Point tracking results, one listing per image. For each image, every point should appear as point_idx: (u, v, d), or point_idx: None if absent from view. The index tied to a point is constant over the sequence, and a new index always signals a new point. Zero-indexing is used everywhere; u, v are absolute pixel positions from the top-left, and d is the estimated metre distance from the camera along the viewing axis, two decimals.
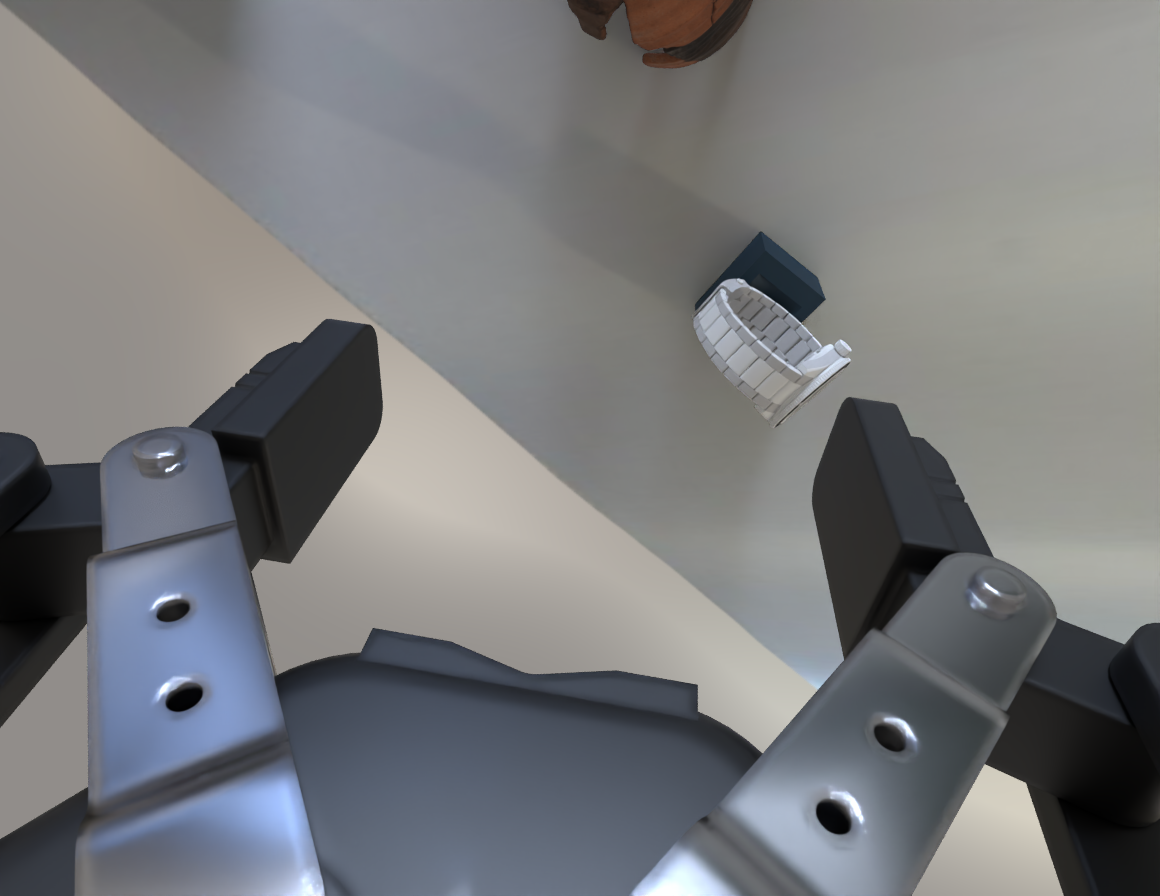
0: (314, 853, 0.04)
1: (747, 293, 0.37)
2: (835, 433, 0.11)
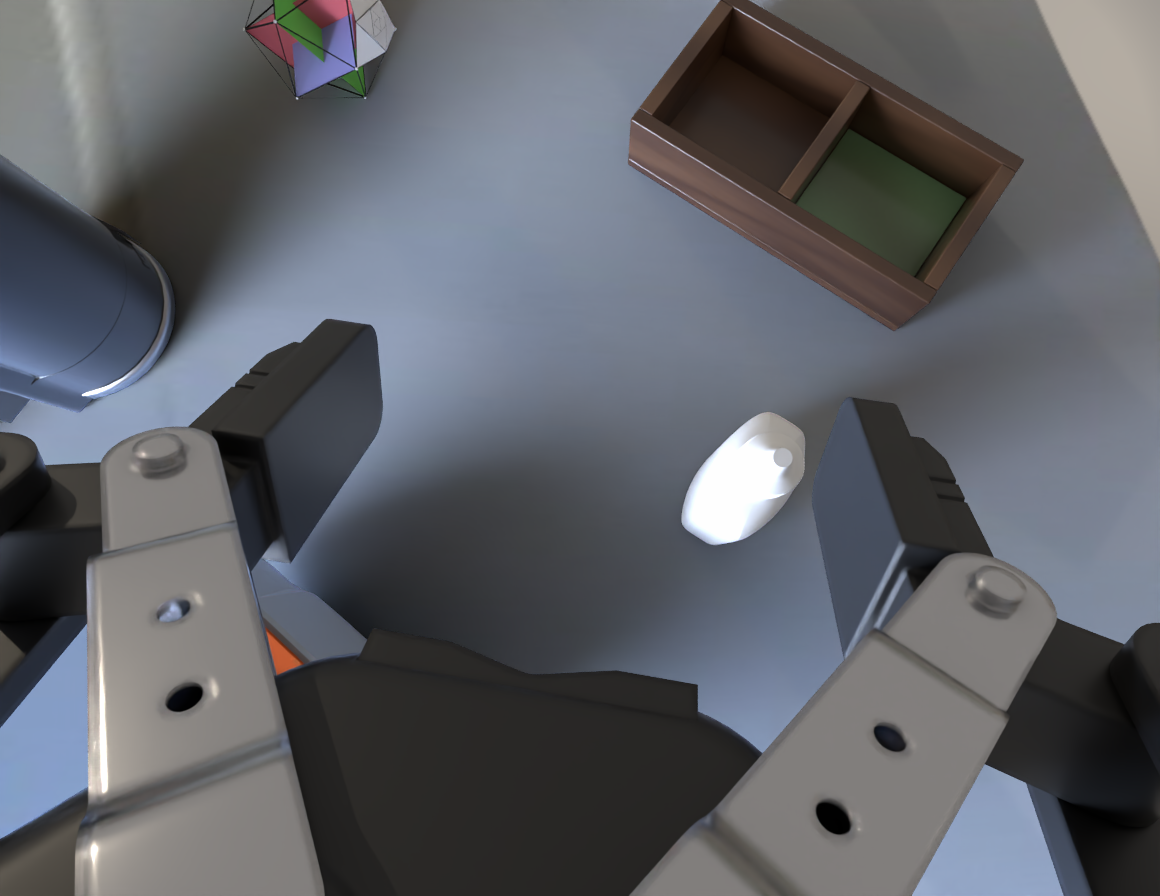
0: (314, 853, 0.04)
1: None
2: (835, 433, 0.11)
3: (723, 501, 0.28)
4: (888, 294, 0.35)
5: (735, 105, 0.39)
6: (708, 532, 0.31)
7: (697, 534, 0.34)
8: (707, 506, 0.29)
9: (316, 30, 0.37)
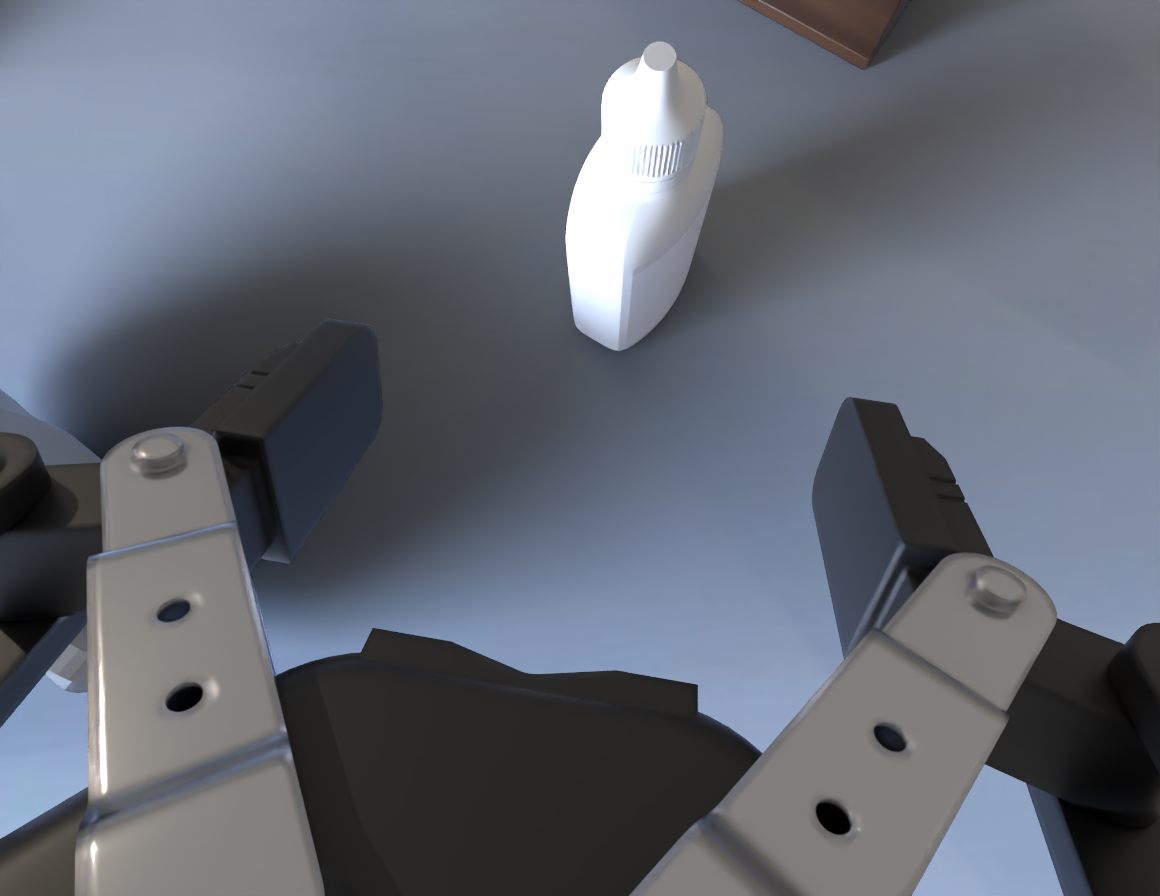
0: (314, 853, 0.04)
1: None
2: (835, 433, 0.11)
3: (594, 206, 0.18)
4: None
5: None
6: (591, 294, 0.21)
7: (591, 327, 0.24)
8: (573, 220, 0.19)
9: None
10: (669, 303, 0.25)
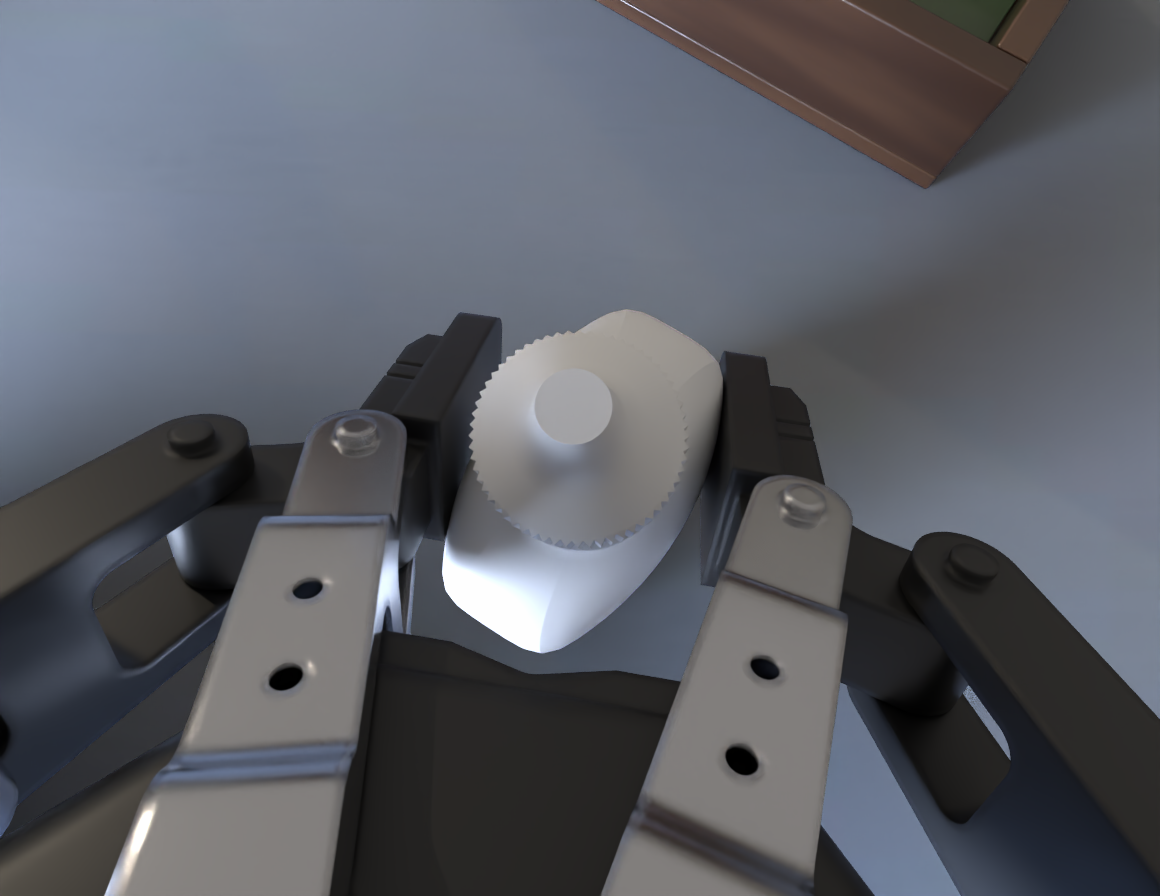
0: (326, 890, 0.04)
1: None
2: None
3: (483, 552, 0.10)
4: (919, 89, 0.17)
5: None
6: None
7: None
8: (449, 564, 0.10)
9: None
10: None
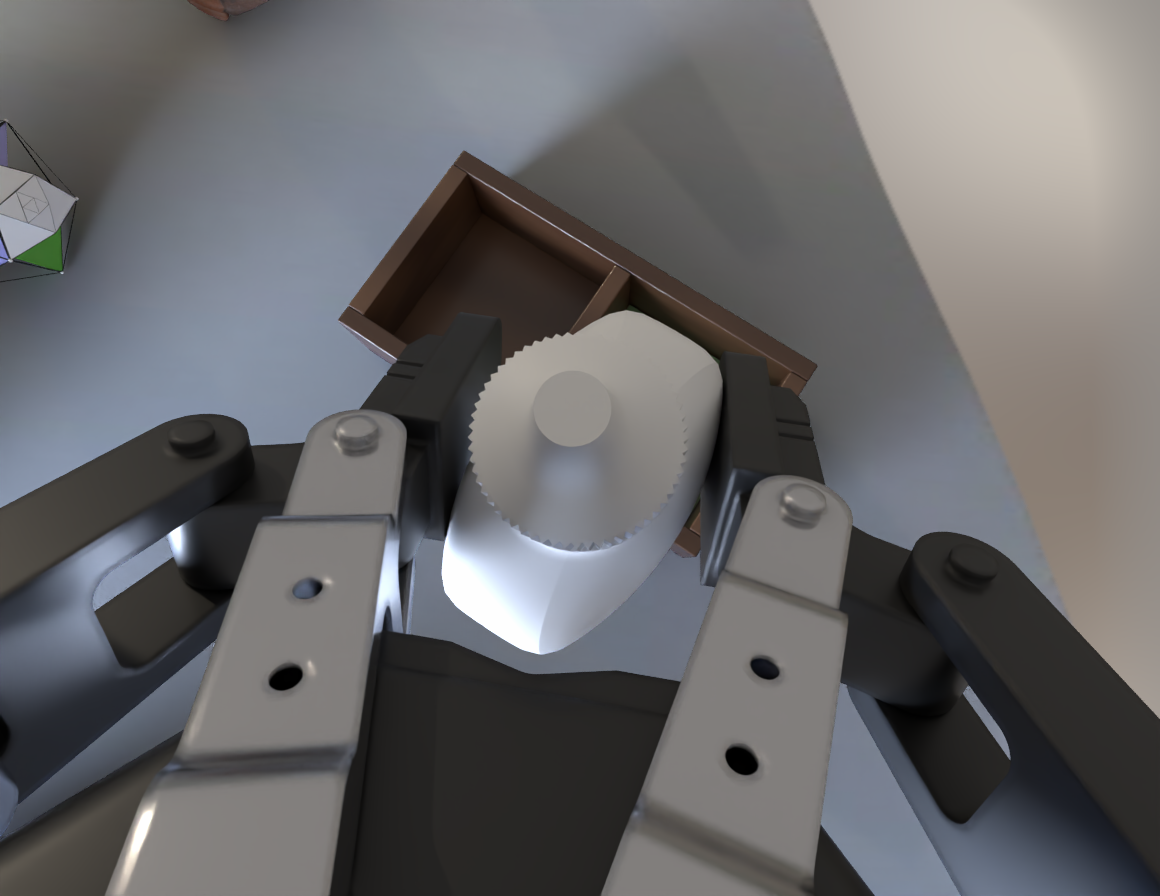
0: (326, 890, 0.04)
1: None
2: None
3: (483, 554, 0.10)
4: None
5: (496, 276, 0.32)
6: None
7: None
8: (448, 566, 0.10)
9: None
10: None
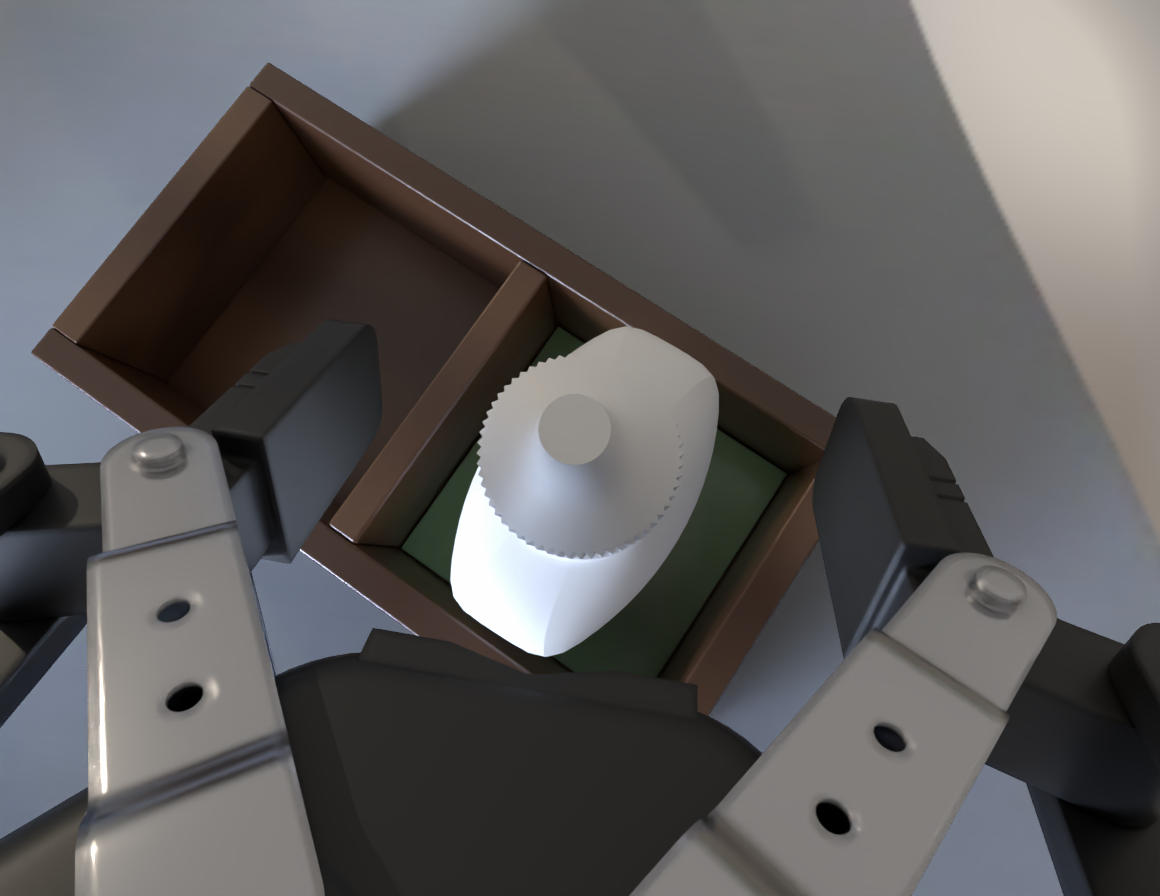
0: (314, 853, 0.04)
1: None
2: (835, 433, 0.11)
3: (490, 561, 0.10)
4: None
5: (345, 279, 0.20)
6: None
7: None
8: (456, 572, 0.11)
9: None
10: None
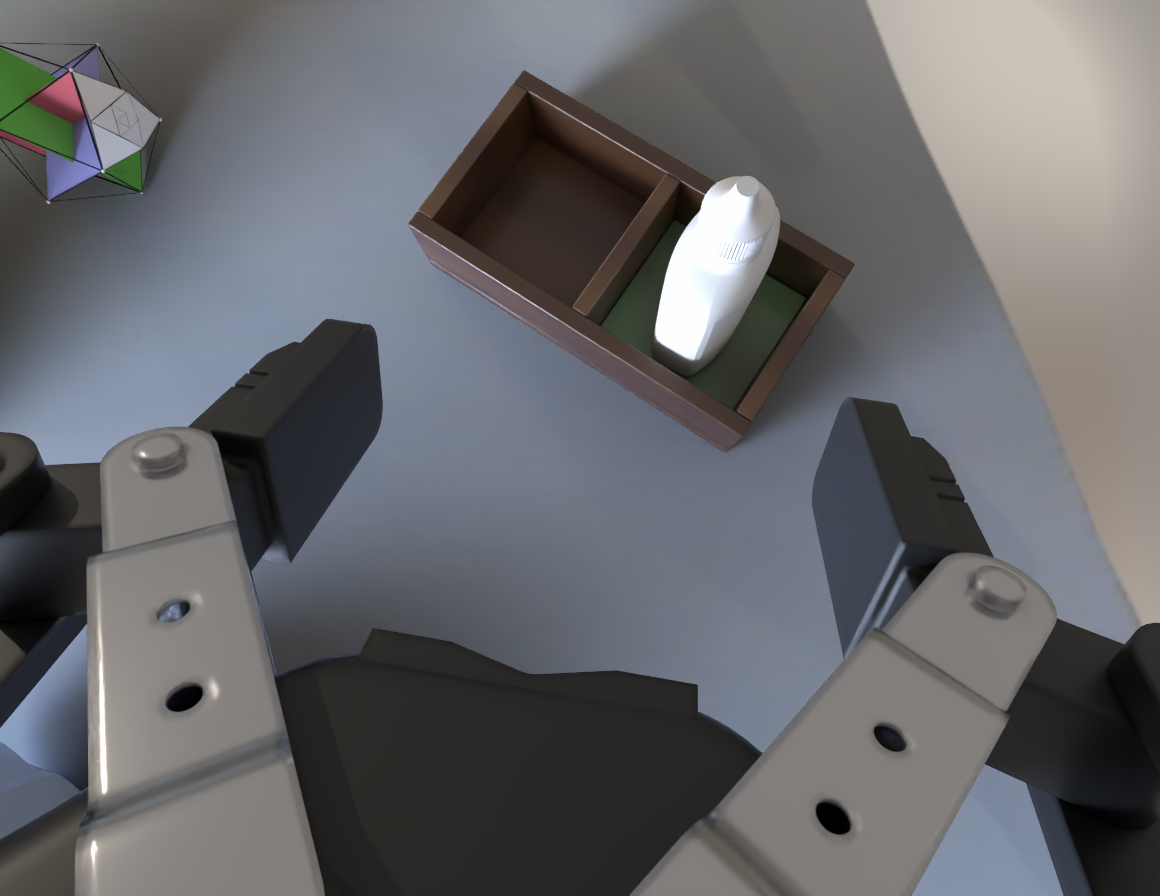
0: (313, 853, 0.04)
1: None
2: (835, 433, 0.11)
3: (687, 277, 0.25)
4: (703, 421, 0.30)
5: (549, 194, 0.35)
6: (676, 336, 0.28)
7: (668, 358, 0.31)
8: (670, 286, 0.25)
9: (63, 126, 0.33)
10: (729, 339, 0.32)
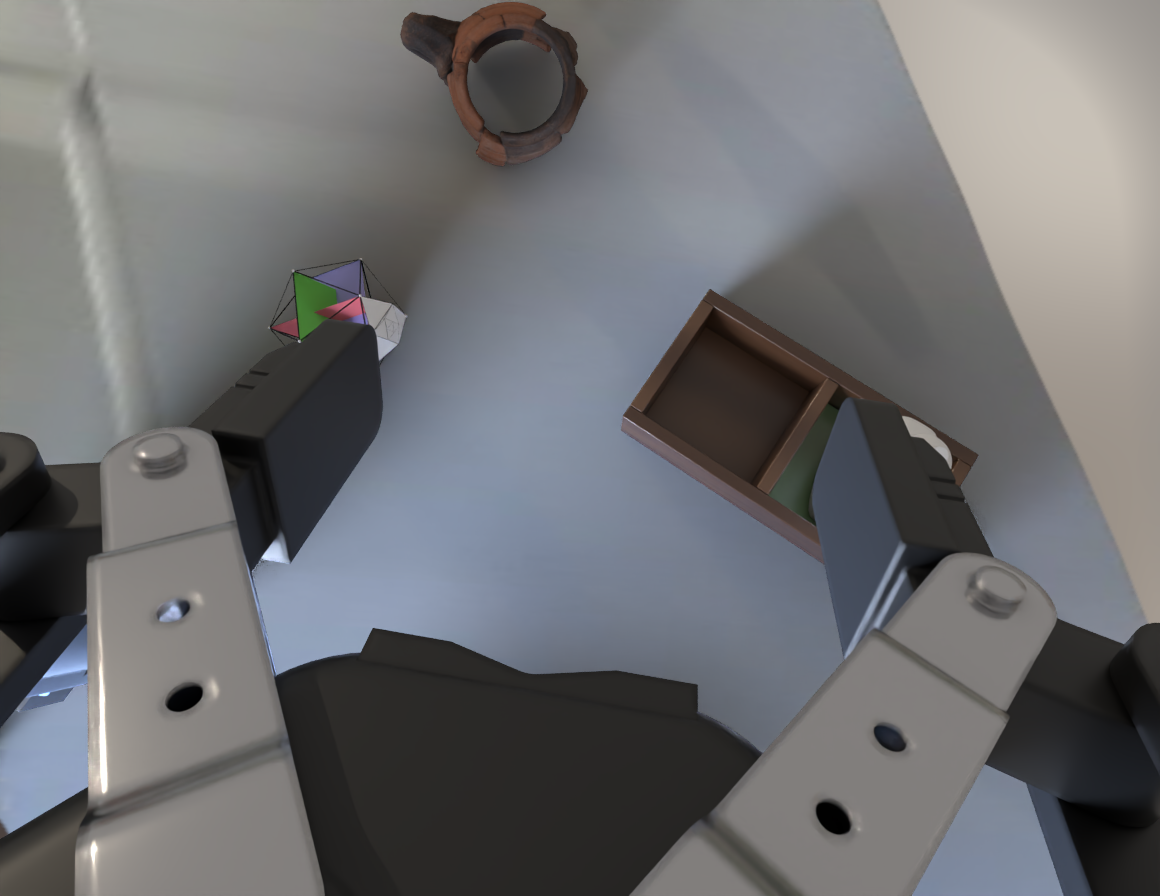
0: (314, 853, 0.04)
1: None
2: (835, 433, 0.11)
3: None
4: None
5: (718, 376, 0.43)
6: None
7: None
8: None
9: None
10: None
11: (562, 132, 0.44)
